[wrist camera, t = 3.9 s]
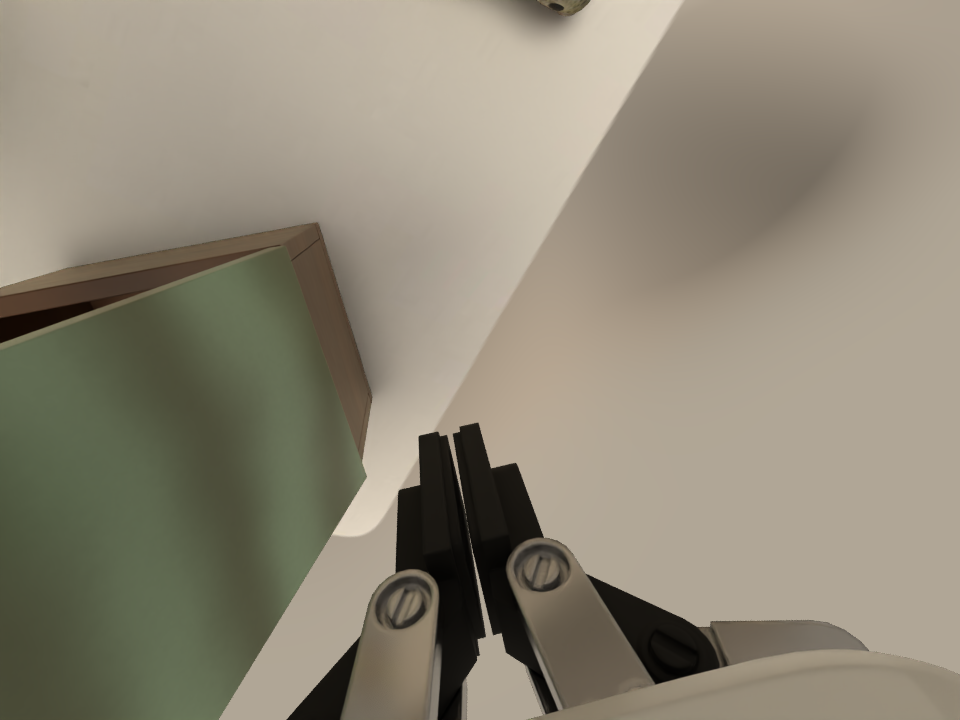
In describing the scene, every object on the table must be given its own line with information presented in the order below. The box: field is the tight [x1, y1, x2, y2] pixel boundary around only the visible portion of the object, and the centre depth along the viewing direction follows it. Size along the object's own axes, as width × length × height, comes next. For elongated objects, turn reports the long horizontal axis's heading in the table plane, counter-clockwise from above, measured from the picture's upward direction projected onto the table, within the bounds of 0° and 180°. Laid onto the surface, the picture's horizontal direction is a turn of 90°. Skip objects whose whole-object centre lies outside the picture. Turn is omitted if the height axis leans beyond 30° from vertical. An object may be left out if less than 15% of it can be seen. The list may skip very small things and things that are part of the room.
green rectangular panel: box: [0, 246, 367, 720], centre depth 13 cm, size 14×12×1 cm
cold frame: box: [0, 222, 372, 461], centre depth 22 cm, size 14×12×8 cm
